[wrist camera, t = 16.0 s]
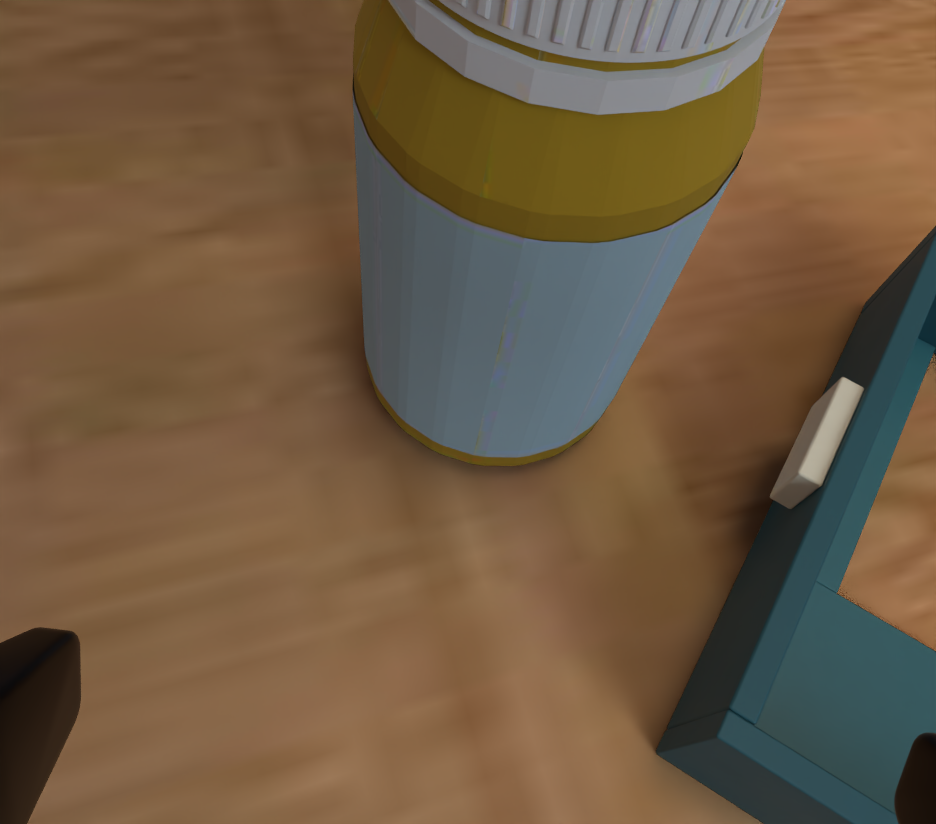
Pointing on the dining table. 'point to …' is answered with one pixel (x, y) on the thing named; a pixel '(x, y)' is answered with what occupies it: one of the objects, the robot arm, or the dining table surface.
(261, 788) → the dining table surface
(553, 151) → the bottle
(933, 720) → the teal square tray
